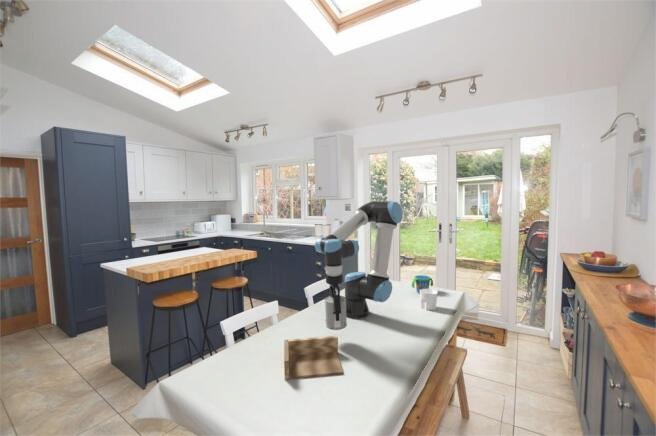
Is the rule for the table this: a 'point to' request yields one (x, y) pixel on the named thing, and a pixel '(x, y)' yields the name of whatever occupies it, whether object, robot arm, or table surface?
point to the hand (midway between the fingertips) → (335, 322)
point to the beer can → (330, 316)
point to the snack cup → (422, 282)
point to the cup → (428, 299)
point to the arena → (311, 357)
